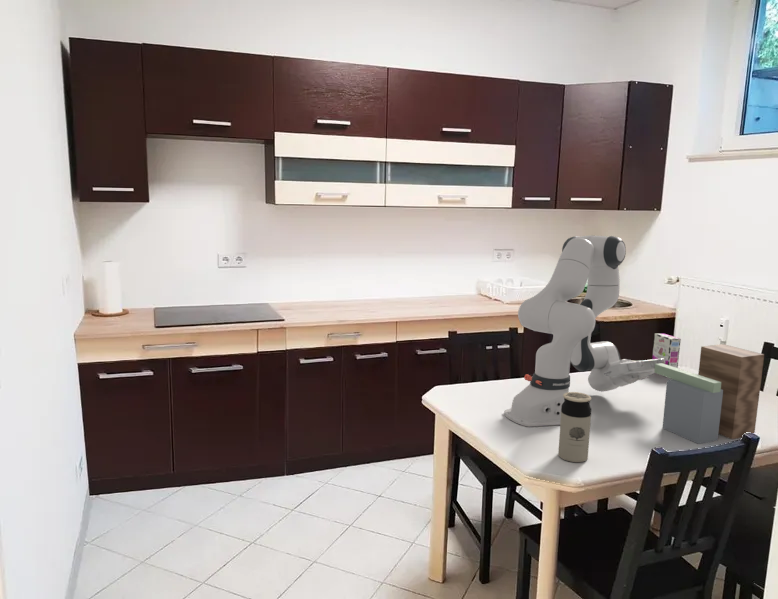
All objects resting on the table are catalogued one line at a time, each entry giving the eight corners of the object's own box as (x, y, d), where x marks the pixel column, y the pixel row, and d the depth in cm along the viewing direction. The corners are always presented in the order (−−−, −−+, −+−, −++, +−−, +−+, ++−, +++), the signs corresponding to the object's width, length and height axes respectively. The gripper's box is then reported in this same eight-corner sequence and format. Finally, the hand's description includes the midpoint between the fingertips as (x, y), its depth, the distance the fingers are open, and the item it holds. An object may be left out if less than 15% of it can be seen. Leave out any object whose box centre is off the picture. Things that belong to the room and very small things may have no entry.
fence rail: (713, 392, 175) (714, 383, 174) (654, 372, 195) (655, 364, 194) (720, 391, 176) (721, 382, 176) (661, 371, 196) (661, 363, 196)
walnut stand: (731, 439, 181) (741, 357, 177) (693, 423, 194) (701, 346, 190) (754, 434, 185) (764, 354, 181) (714, 419, 198) (723, 344, 194)
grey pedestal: (698, 444, 177) (704, 392, 175) (662, 428, 190) (667, 380, 187) (717, 440, 180) (723, 390, 178) (680, 424, 193) (685, 377, 190)
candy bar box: (677, 377, 246) (681, 338, 244) (666, 377, 246) (670, 339, 243) (660, 369, 257) (664, 332, 255) (650, 369, 256) (653, 333, 254)
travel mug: (559, 449, 172) (563, 390, 169) (588, 454, 169) (593, 393, 166) (556, 460, 165) (560, 398, 162) (586, 465, 162) (591, 402, 159)
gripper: (598, 366, 206) (625, 355, 194) (643, 361, 214) (672, 350, 202) (603, 384, 204) (631, 374, 192) (648, 378, 212) (678, 368, 200)
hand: (652, 361), depth 197 cm, fingers open, 8 cm apart
